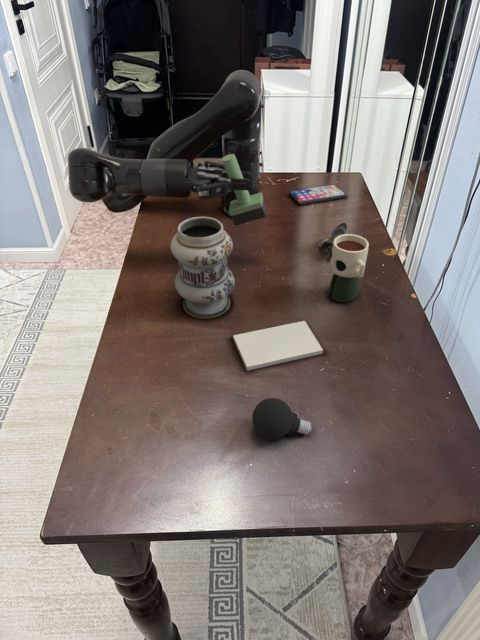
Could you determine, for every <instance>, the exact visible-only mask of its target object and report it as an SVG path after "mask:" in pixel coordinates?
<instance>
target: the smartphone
mask: <svg viewBox="0 0 480 640" xmlns="http://www.w3.org/2000/svg"><path fill="white" fill-rule="evenodd" d="M288 195H289V196H290V197H291V198H292V199H293V200H294V201H295V203H296V204H297V205H299V206H303V205H309V204H314V203H321V202H328V201H333V200H338V199H339V200H340V199H344V198H347V194H346V193H345V191H343V190H342V189H341V188H340V187H339V186H338V185H337V184H335V183H331V184H326V185H320V186H319V185H318V186H314V187H306V188H302V189H301V188H300V189H293V190H289V192H288Z"/></svg>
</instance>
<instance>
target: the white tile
mask: <svg viewBox="0 0 480 640" xmlns="http://www.w3.org/2000/svg"><path fill="white" fill-rule="evenodd" d="M232 340H233V343H234V344H235V347H236V349H237V352H238V354H239V356H240V358H241V361H242V362H243V365H244V367H245V370H246V371H247V372H248V371H252V370H257V369H261V368H266V367H269V366H274V365H278V364H283V363H288V362H292V361H296V360H301V359H305V358H306V359H307V358H309V357H314V356H318V355H323V354H324V349H323V348H322V346H321V344H320V342H319V341H318V339H317V338H316V336H315V334H314V333H313V331H312V329H311V328H310V326H309V325H308V323H307V322H306V320H302V321H296V322H291V323H285V324H282V325H277V326H272V327H267V328H262V329H258V330H252V331H248V332H243V333H238V334H233V335H232Z"/></svg>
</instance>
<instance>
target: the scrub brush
mask: <svg viewBox="0 0 480 640" xmlns="http://www.w3.org/2000/svg"><path fill="white" fill-rule="evenodd" d="M221 161H222V164H223V165H224V167H225V170H226V172H227V175H228V177H229V178H230V179H231V178H241V179H244V178H243V176H242V173H241V170H240V168H239V165H238V162H237V160H236V157H235V155H234V154H229V155H227V156H225V157H223V156H222V158H221ZM234 193H235V195H236V198H237V200H234V201H231V202H230V207H229V214H230V216H229V217H231V220H232V222H233V224H234V226H238V225H242V224H245V223H249V222H253V221H256V220H260V219H263V218H265V217H267V216H266V215H267V205H266V202H265V200H264V195H263V192H262V191H259V193H257V194H254V195H249V192H248V190H234Z"/></svg>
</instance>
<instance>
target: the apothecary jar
mask: <svg viewBox="0 0 480 640" xmlns="http://www.w3.org/2000/svg"><path fill="white" fill-rule="evenodd" d="M233 248H234V241H233V239H232V237H231V235H229V233H228V232H227V231H226V230H224V225H223V224H222V222H221V221H220V220H218V219H217V218H214V217H210V216H194V217H189V218H187V219H185V220H183V221H181V222H180V223H179V224H178V226H177V231H176V233H175V234H174V236H173V237H172V239H171V242H170V251H171V254H172V255H173V257H174V258H175V259H176V260H177V261H178V266H179V271H178V273H176V276H175V279H174V288H175V290H176V292H177V293H178V295H180V296H181V297H182V298H183V301H182V307H183V310H184V311H185V312H186V314H188V315H189V316H191V317H193V318H197V319H213V318H216V317H220V316H222V315H223V314H225V313H226V312H227V311H228V310H229V309H230V306H231V298H230V296H229V295H230V294H231V293H232V291H233V290H234V288H235V284H236V279H235V276H234V273H233V271H232V270H231V269H230V268H229V267H228V257H230V255H231V254H232V251H233Z"/></svg>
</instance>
